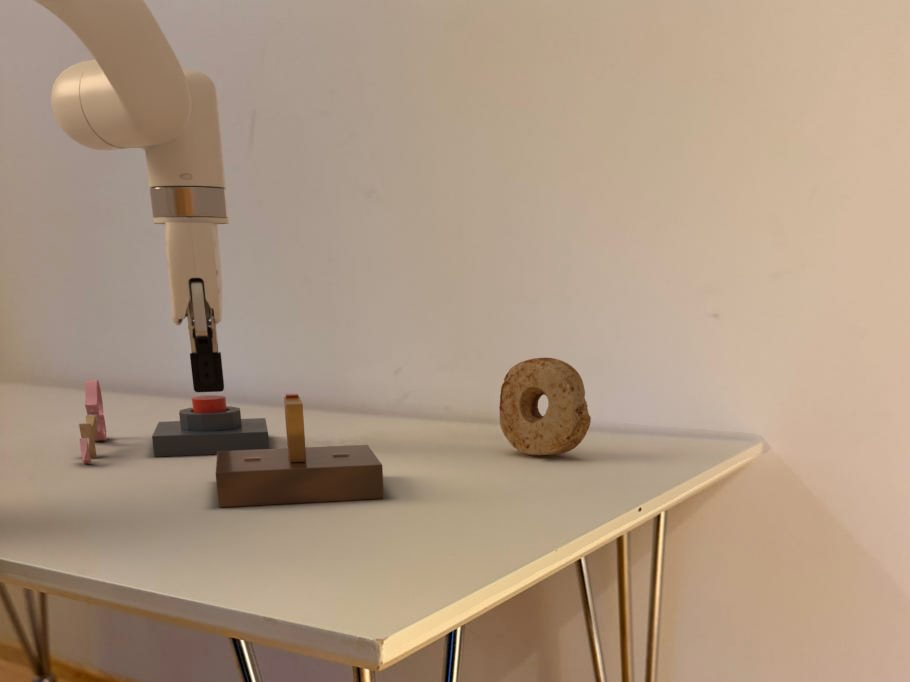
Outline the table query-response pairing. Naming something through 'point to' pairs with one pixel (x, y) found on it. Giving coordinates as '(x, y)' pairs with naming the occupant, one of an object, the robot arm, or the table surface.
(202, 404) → the button
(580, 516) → the table surface
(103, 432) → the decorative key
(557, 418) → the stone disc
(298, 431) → the thumbturn
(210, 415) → the confirm box
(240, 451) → the plate
